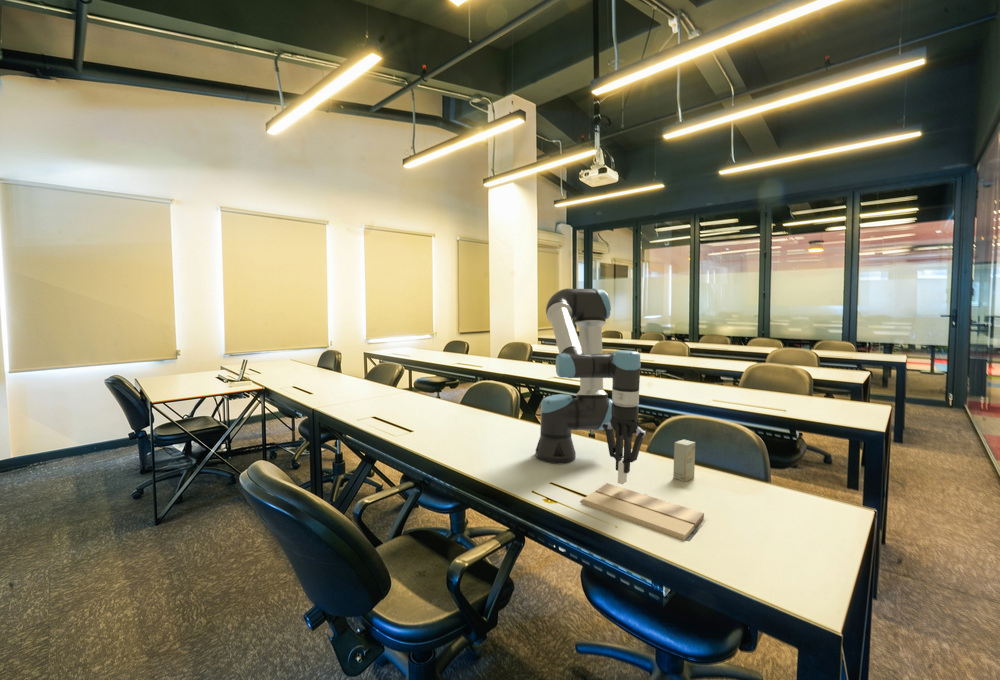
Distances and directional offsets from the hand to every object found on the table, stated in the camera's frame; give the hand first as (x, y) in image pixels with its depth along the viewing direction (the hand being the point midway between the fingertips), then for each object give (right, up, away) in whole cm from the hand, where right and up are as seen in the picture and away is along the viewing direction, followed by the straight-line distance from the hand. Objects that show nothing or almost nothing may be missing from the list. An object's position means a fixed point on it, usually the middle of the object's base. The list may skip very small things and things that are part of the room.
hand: (622, 482), depth 124 cm
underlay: (+3, -5, -9) cm, 11 cm away
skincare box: (+25, -4, +16) cm, 30 cm away
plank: (+5, -4, -7) cm, 9 cm away
